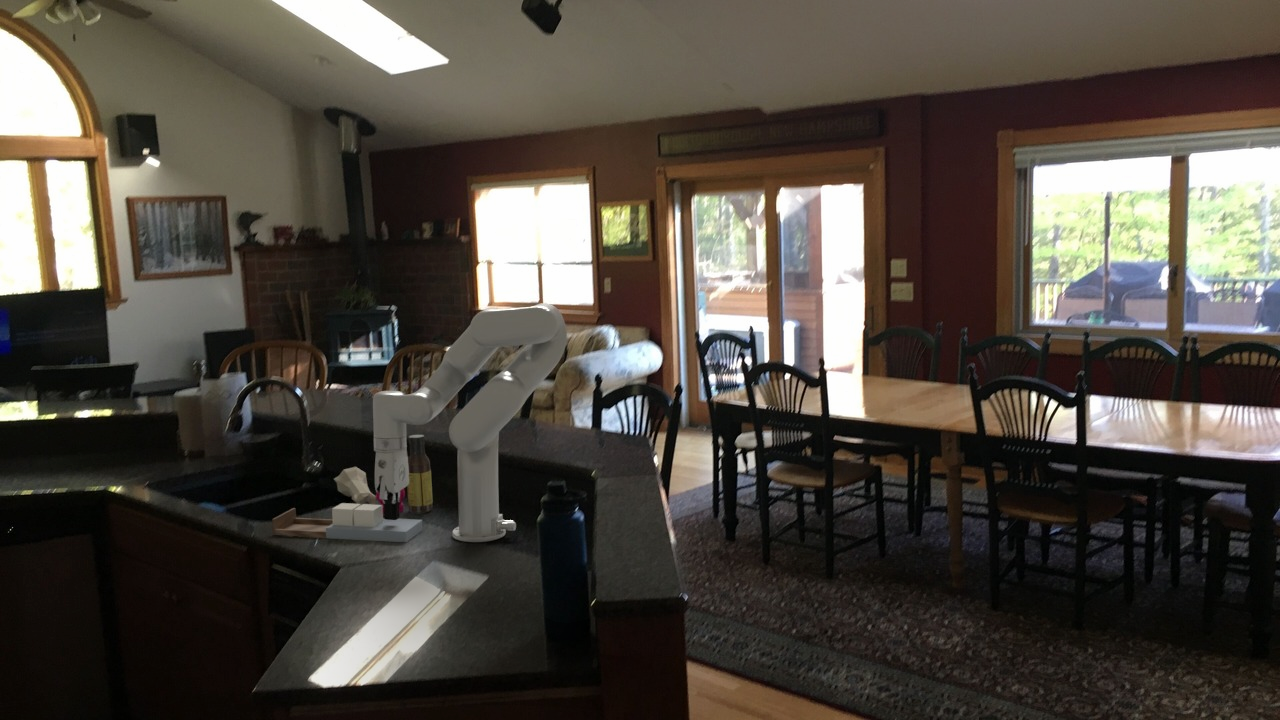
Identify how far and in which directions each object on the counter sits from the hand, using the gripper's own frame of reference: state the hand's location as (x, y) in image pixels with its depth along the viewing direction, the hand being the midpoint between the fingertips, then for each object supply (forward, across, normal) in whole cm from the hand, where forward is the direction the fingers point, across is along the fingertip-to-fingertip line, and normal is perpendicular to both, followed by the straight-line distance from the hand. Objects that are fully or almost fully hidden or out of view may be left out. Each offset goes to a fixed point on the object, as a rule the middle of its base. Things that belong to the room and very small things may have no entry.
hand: (391, 518), depth 234 cm
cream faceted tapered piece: (+5, +25, +20) cm, 33 cm away
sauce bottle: (+4, +21, +1) cm, 22 cm away
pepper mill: (+4, +19, +9) cm, 22 cm away
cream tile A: (+2, 0, +6) cm, 6 cm away
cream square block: (+2, 0, +11) cm, 12 cm away
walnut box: (+4, 0, +21) cm, 22 cm away
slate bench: (+4, 0, +4) cm, 6 cm away
